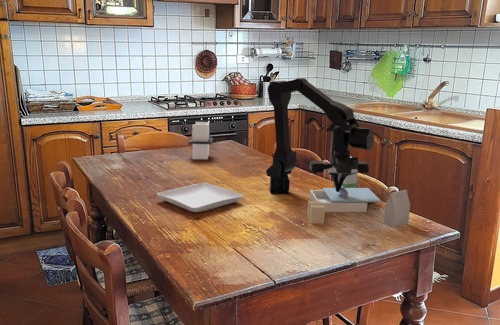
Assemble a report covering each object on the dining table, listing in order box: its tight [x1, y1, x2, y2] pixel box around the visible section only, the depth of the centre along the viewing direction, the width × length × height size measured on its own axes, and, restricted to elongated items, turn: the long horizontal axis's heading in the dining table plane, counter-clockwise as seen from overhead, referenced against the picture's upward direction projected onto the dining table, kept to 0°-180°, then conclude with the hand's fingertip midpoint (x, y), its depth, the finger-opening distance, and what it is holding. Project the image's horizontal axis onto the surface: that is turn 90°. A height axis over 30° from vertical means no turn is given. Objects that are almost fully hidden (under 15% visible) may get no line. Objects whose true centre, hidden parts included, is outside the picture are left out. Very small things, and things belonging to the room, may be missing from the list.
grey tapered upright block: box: [382, 189, 411, 228], centre depth 143 cm, size 4×7×10 cm, turn 121°
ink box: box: [342, 155, 359, 188], centre depth 178 cm, size 9×5×12 cm, turn 18°
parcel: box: [306, 200, 326, 224], centre depth 145 cm, size 4×6×5 cm
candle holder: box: [188, 121, 214, 160], centre depth 222 cm, size 25×24×16 cm
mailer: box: [309, 189, 368, 213], centre depth 160 cm, size 16×14×3 cm
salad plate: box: [156, 182, 244, 213], centre depth 160 cm, size 21×21×3 cm
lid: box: [322, 186, 382, 203], centre depth 159 cm, size 16×14×3 cm
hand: (337, 191), depth 159 cm, fingers closed
